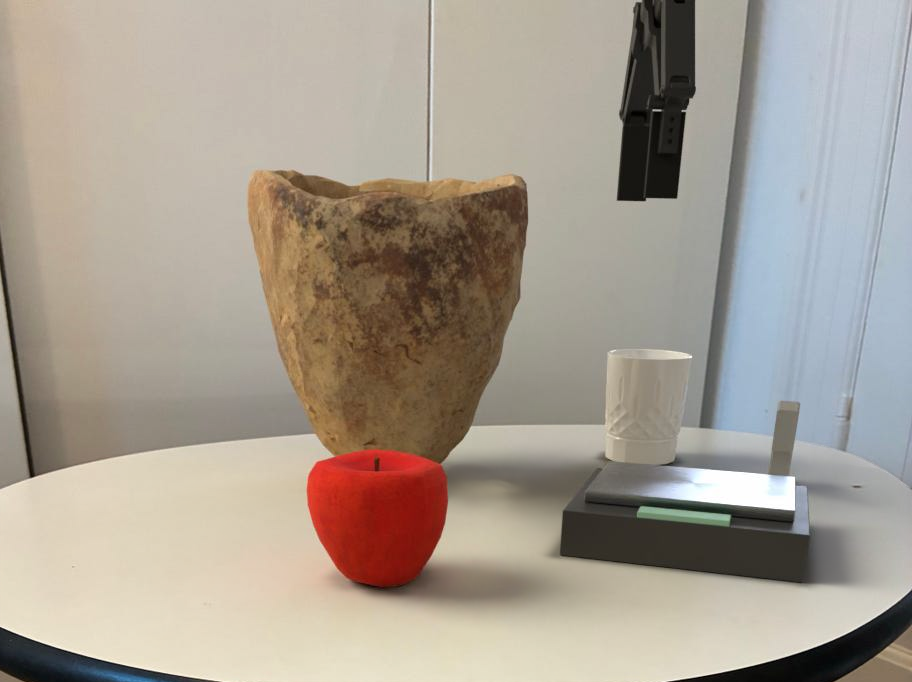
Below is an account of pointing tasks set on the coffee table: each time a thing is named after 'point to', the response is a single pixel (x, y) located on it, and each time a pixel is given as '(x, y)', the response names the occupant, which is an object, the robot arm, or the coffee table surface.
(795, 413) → the beige upright slab
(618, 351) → the white cup
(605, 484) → the scale pan
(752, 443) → the coffee table surface
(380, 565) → the apple
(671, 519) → the scale
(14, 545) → the coffee table surface
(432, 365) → the brown clay pot
